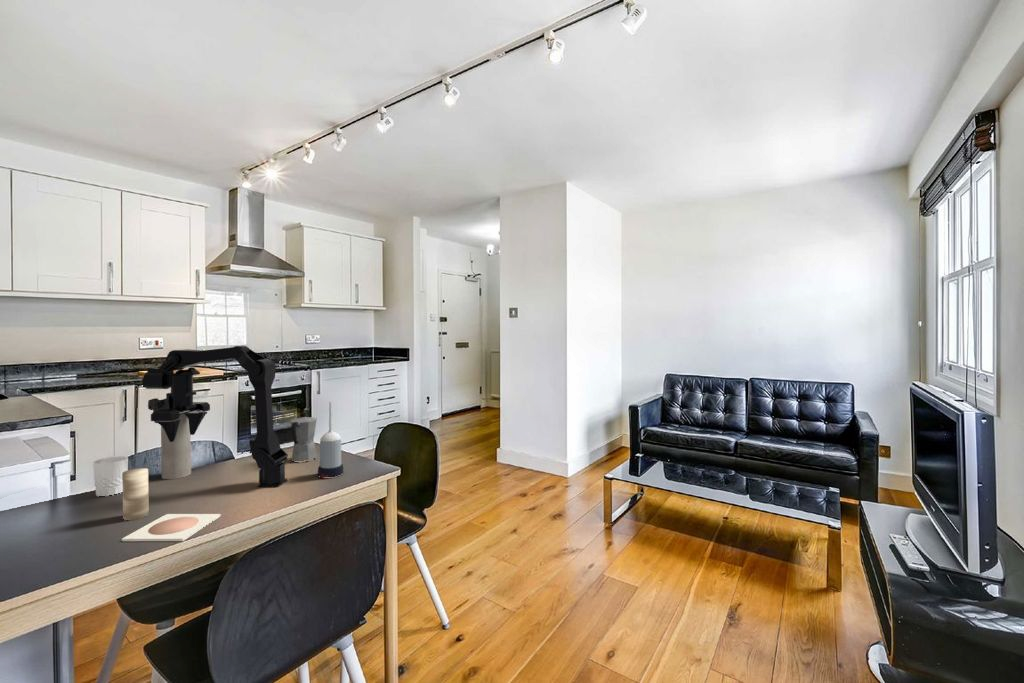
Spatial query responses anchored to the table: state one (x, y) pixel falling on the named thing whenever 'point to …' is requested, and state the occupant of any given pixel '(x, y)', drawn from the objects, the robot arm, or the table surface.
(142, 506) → the wooden tube
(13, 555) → the table surface
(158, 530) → the card
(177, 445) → the thermos bottle
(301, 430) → the coffeepot
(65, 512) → the table surface
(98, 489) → the white cup
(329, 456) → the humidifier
